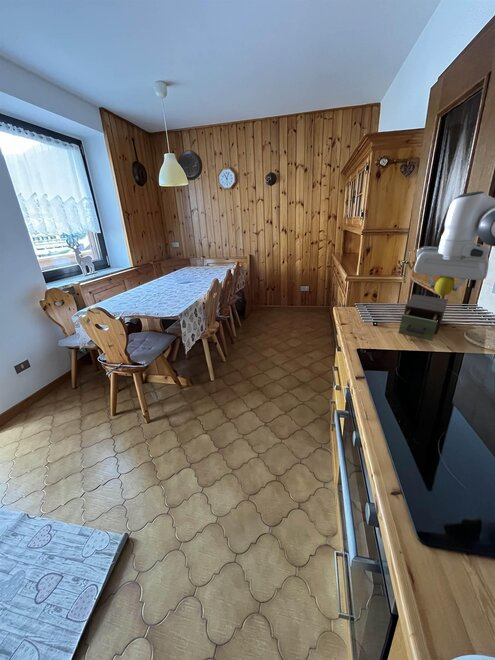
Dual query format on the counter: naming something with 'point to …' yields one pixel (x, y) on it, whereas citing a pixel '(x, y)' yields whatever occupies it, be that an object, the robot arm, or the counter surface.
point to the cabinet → (428, 306)
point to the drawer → (419, 324)
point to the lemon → (444, 285)
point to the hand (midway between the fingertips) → (443, 288)
